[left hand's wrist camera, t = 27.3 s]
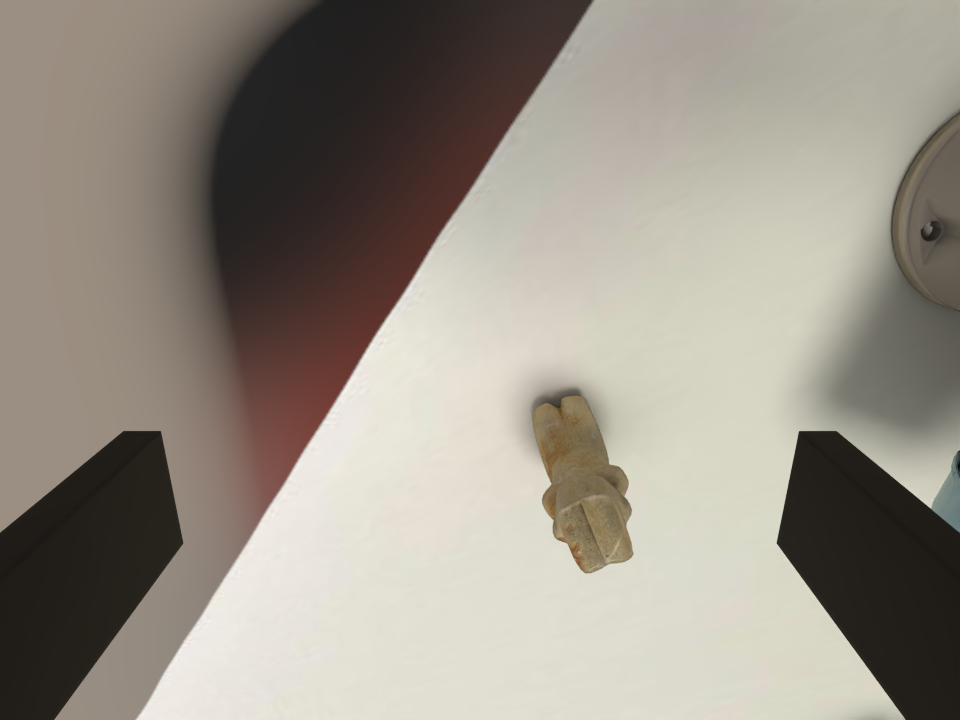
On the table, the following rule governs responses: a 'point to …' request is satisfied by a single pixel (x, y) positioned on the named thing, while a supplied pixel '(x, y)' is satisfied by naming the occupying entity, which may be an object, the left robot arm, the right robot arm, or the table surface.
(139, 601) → the left robot arm
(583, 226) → the table surface
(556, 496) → the sculpture
